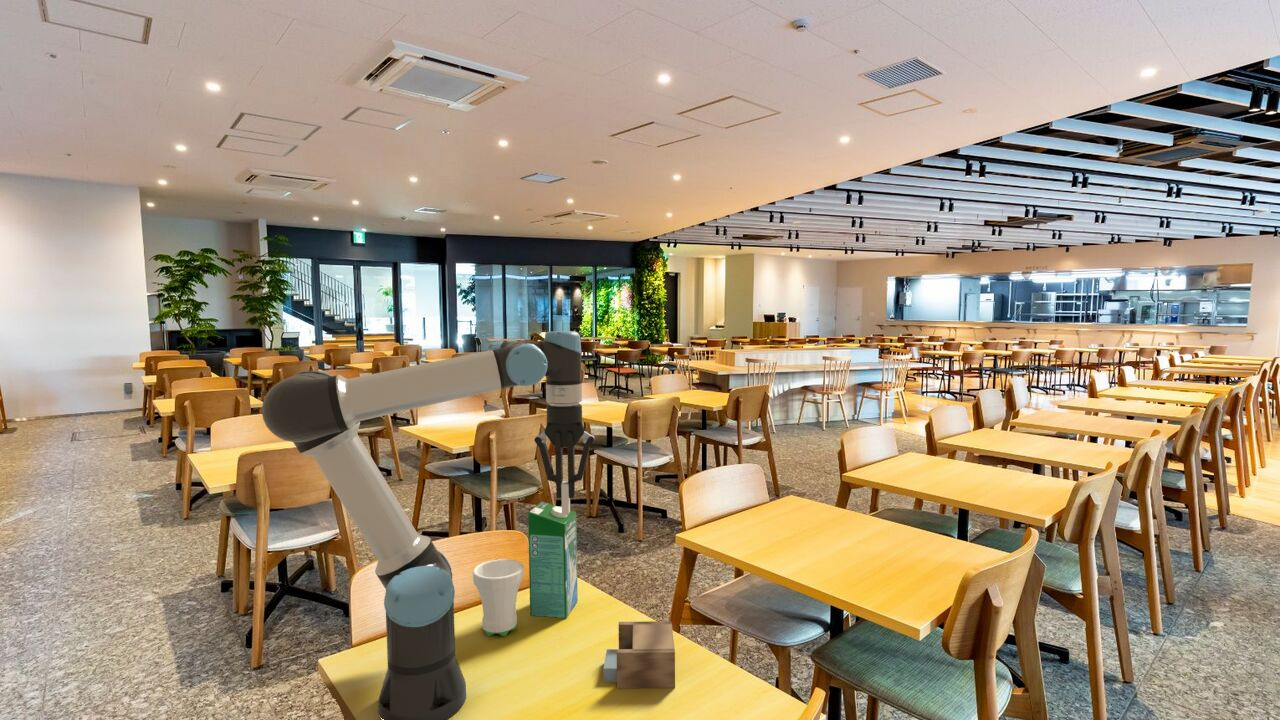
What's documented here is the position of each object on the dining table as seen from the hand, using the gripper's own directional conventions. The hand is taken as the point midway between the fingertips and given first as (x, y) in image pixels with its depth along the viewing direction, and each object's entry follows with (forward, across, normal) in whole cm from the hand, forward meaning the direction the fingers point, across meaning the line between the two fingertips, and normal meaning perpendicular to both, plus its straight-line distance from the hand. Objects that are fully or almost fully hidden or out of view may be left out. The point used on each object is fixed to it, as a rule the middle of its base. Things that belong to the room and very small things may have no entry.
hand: (566, 512), depth 134 cm
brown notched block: (+28, +17, -12) cm, 35 cm away
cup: (+29, -16, +5) cm, 33 cm away
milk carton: (+29, -5, +15) cm, 33 cm away
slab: (+29, +14, -12) cm, 34 cm away
